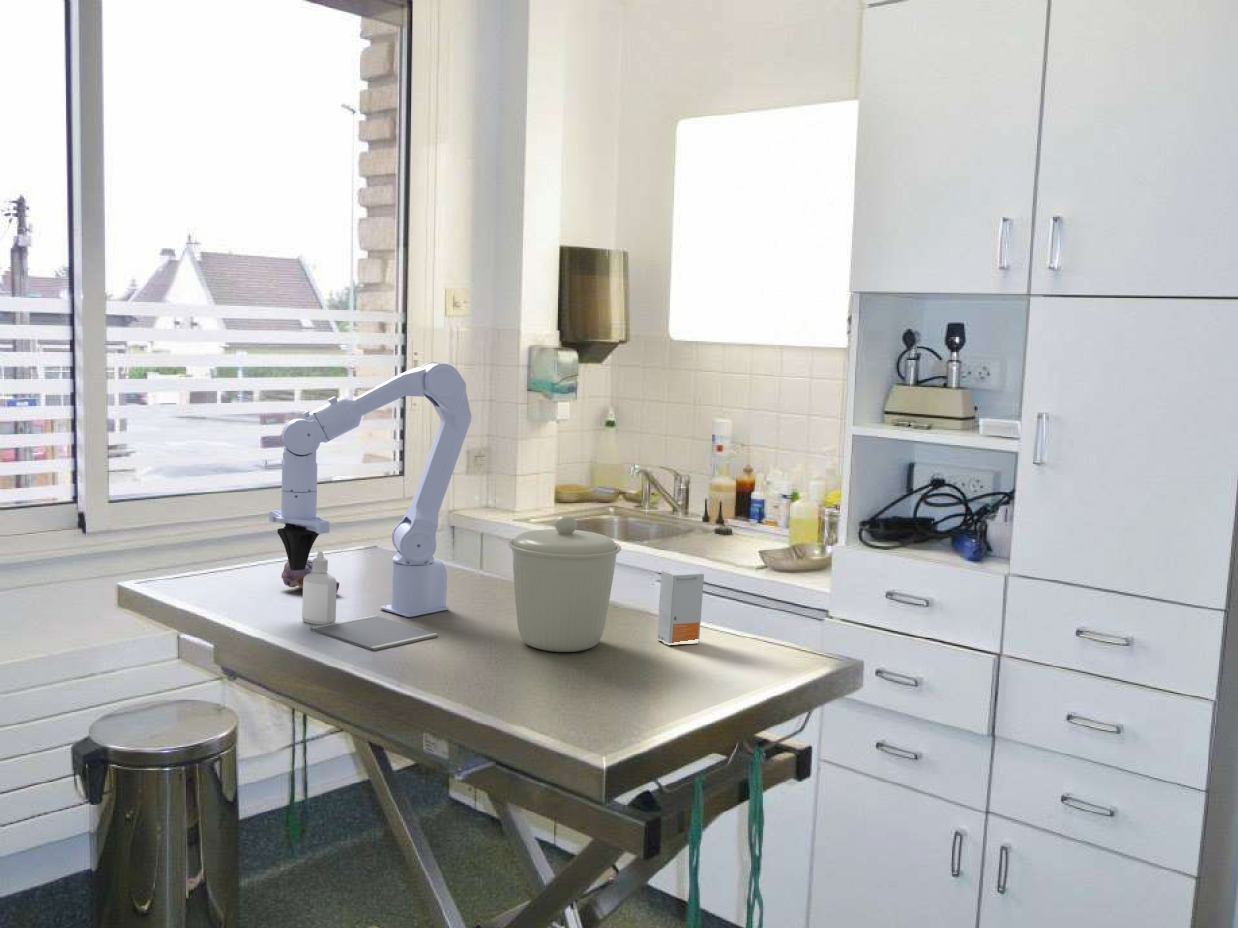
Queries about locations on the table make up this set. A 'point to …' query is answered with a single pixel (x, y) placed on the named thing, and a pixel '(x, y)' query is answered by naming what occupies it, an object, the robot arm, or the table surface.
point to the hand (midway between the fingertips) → (297, 569)
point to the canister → (562, 585)
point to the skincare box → (680, 605)
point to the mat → (374, 632)
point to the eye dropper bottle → (319, 594)
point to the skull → (298, 575)
